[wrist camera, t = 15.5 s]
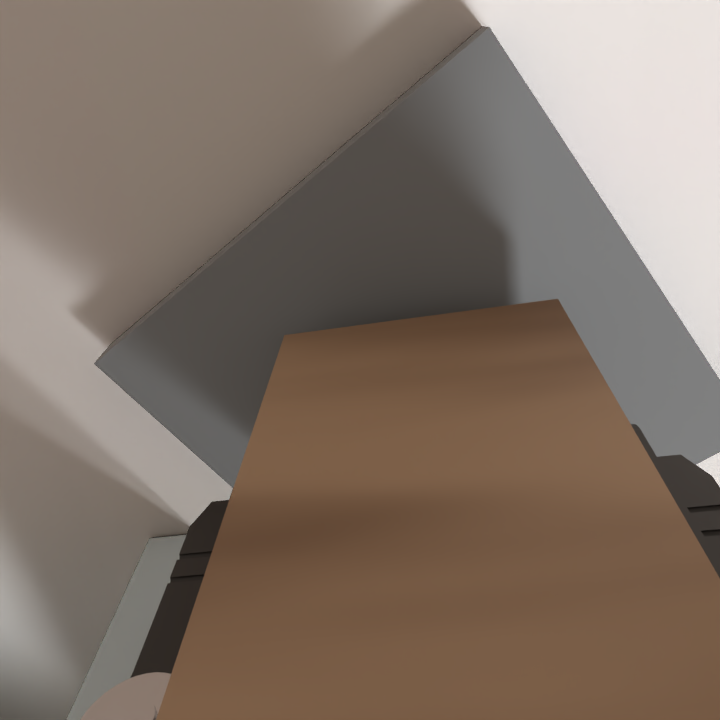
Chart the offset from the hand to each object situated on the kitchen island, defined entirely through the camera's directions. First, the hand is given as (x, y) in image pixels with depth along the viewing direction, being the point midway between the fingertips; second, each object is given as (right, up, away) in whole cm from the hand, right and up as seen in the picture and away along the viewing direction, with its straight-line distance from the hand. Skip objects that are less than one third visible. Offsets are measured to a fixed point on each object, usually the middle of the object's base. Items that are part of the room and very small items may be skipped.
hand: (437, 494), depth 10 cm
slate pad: (0, +2, +3) cm, 4 cm away
